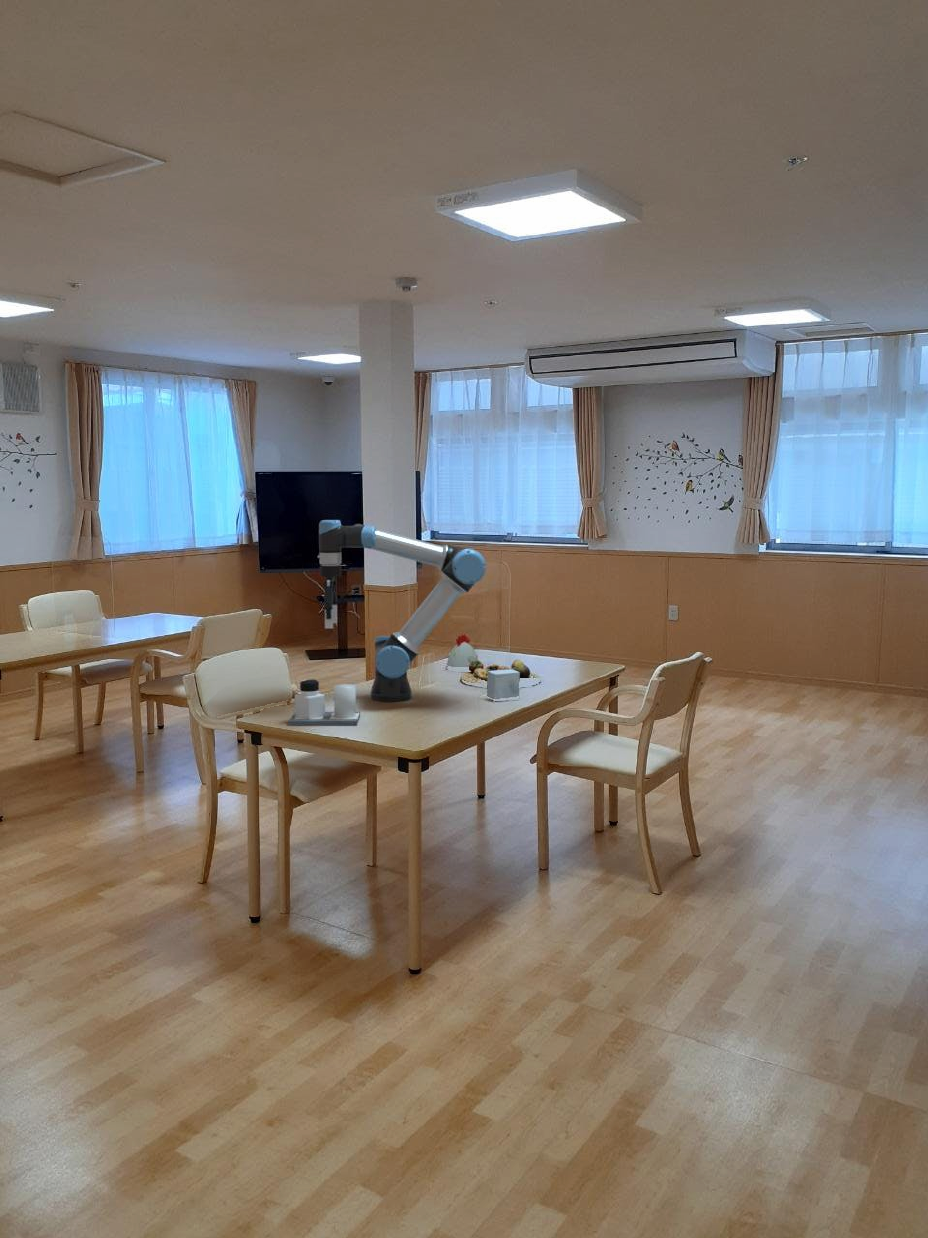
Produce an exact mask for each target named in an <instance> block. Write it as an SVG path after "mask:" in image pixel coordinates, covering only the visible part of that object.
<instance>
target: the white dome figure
mask: <svg viewBox="0 0 928 1238" xmlns="http://www.w3.org/2000/svg"><path fill="white" fill-rule="evenodd" d="M455 640H456V641H455V642H456V645H455V646H454V647H452V650H451V651H449V653H448V655H447V658H448V659H447V663H446V666H447V665H448V666H451V667H469V665H470V663H472V661H473V660H479V655H478V654H477V651H475V649H474V647H473V646H472V645H471V644H470V642H471V641H470V640H471V639H470V638H469V637H468V636H466V634H461V635H457V638H456V639H455Z"/></svg>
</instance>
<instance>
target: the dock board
mask: <svg viewBox="0 0 928 1238" xmlns="http://www.w3.org/2000/svg"><path fill="white" fill-rule="evenodd" d="M360 718H361V711H356V716H355V717H352V718H337V717H335V716H334V711H325V715H324V716H320V717H316V718H311V719H306V718H302V717H298V716H295V711H294V712H293V714H292V715H291V717H290V718H289V720H288V726H289V725H299V727H301V726H302V727H303V726H304V727H305V726H307V727H309V726H311V727H313V726H315V727H316V726H321V727H322V726H325V727H326V726H329V727H330V726H333V727H335V726H339V727H341V726H342V727H343V726H347V727H348V726H352V727H353V726H354V727H355V726H358V723H359V720H360Z"/></svg>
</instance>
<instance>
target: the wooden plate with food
mask: <svg viewBox="0 0 928 1238" xmlns="http://www.w3.org/2000/svg"><path fill="white" fill-rule="evenodd" d="M509 669H513V670H515V671H518V672H520V678H531V676H533V678H540V679H541V677H540V676H539V675H538V674H535V673H532V672H531V671H530V668H529V667H528V666H527V665H525V664H524V662H523V661H521V660H520V659H518V658H517V659H514V661H513V662H512V664H511V665H510V667H508V666H503V665H502V666H500V665H499V664H492V665H491V664H489V665H488V666H486V668H485V669H484V663H482V662H481V661H480V660H479V659H478V660H473V661H472V663H470V665H469V670H470V671H471V672H464V673H463V674H462V675H461V676H460V678H462V679H463V680H464V681H467V682H471V683H481V682H477V681H479V679H481V680H485V681H487V671H495V670H509ZM470 674H471V675H470ZM469 675H470V676H469ZM530 675H531V676H530ZM469 678H471V679H472V680H470V679H469ZM478 678H479V679H478ZM473 680H475V681H473Z"/></svg>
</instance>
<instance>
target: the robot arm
mask: <svg viewBox="0 0 928 1238" xmlns="http://www.w3.org/2000/svg"><path fill="white" fill-rule="evenodd" d="M318 528H319V529H318V548H319V554H318V555H317V558H318V559H319V565H320V566H319V576H320V577H322V578H326V579H325V580H324V582H323V583H324V585H323V586H324V601H323V604H324V605H323V606H322V610H324V629H334V624H338V605H339V604H340V602H339V601H338V593H337V591H338V589H337V586H338V582H337V577H341V576H342V565H341V564H342V548H345V549H346V548H359V549H361V548H363V549H370V550H373V551H376V552H377V551H378V552H380V553H381V552H382V553H385V554H388V555H389V554H390V555H393V556H396V557H399V558H402V559H403V558H404V559H408V560H411V561H413V562H419V563H422V564H426V565H430V566H435V567H437V569H438V570H439V571H441V579H440V580H439V581H438V583H437V584H436V585H435V587H434V588H433V589H432V590H431V591H430V593H429V594H428V595H427V597H426V598H425V599H424V600H423V602H422V603H421V604H420V605H419V606H418V608H417V609H416V610H415V612H414V613H413V614H412V615H411V616H410V618H409V619H408V620H407V621H406V623H405V624H404V625H403V627H402V628H401V629H400V630H399V631H397V632H392V634H391V635H377V636H376V637H375V638H374V642H373V643H374V644H373V645H374V680H373V684H372V686H371V689H370V699H371V700H373V701H378V702H389V703H390V702H402V701H407V700H412V697H413V691H412V689H411V685H410V681H409V680H408V670H409V668H410V666H411V664H412V662H413V661H414V660H415V659H416V657H417V656H418V654H419V647H420V646H421V644H422V643H423V642H424V640H425V639H426V638H427V637H428V635H429V634H430V633H431V632H432V631H433V629H434V628H435V627H436V625H438V623H439V622H440V621H441V619H443V617H444V615H446V613H447V612H448V611H449V609H451V607H452V606H453V604H455V602H456V601H457V600H458V598H459V597H460V596H461V595H463V594H468V593H469V591H470V590H471V589H472V587H474V585H475V584H476V583H478V582H480V581H481V580H482V579H483V577H484V575H485V574H486V569H487V565H486V560H485V558H484V556H483V555H482V554H481V553H480V552H479V551H477V550H476V549H473V548H470V547H461V546H454V545H449V544H445V545H440V544H439V545H438V544H435V543H431V542H427V541H424V540H420V539H416V538H412V537H408V536H406V535H401V534H397V533H393V532H390V531H386V530H382V529H378V528H376V527H375V526H373V525H365V524H361V523H355V524H354V525H342V523H341V520H340V519H323V520H320V522H319V524H318Z"/></svg>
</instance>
